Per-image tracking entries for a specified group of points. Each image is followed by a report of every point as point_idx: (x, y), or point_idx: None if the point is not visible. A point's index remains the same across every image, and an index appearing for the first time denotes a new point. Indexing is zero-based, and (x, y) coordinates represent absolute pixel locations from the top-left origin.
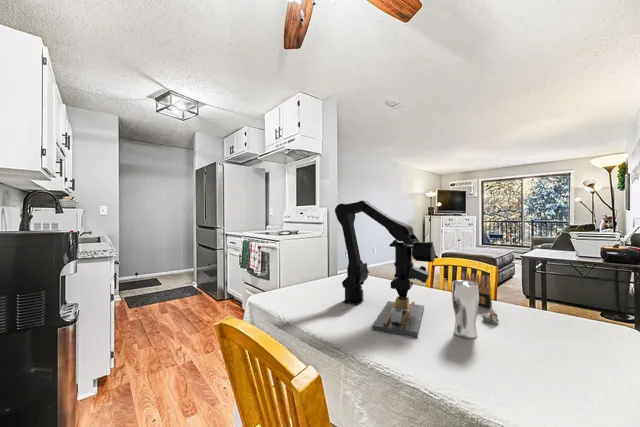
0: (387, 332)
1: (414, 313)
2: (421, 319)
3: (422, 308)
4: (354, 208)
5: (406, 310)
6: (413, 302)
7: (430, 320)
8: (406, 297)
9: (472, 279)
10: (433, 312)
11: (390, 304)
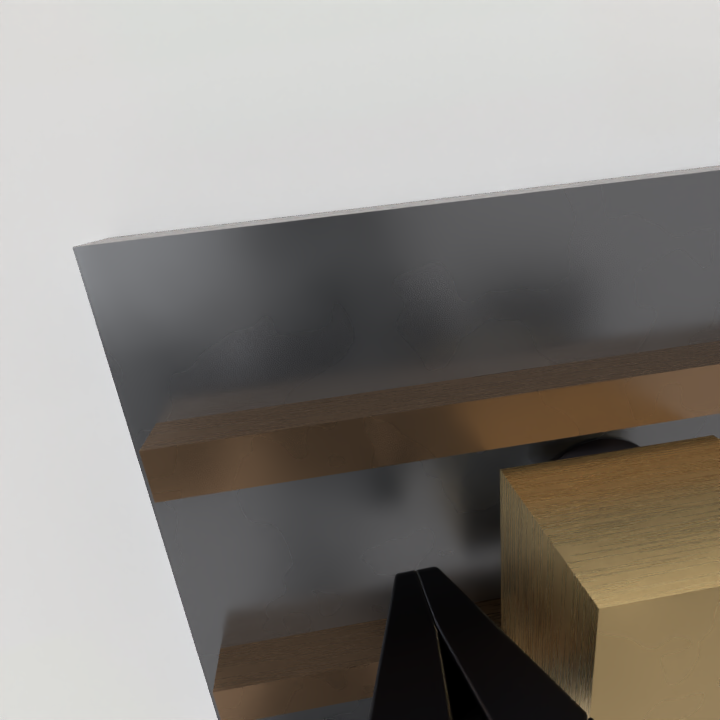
0: None
1: (644, 310)
2: (708, 168)
3: (300, 237)
4: None
5: (538, 456)
6: (186, 464)
7: (620, 23)
8: (610, 655)
9: None
10: (155, 26)
11: (367, 704)
